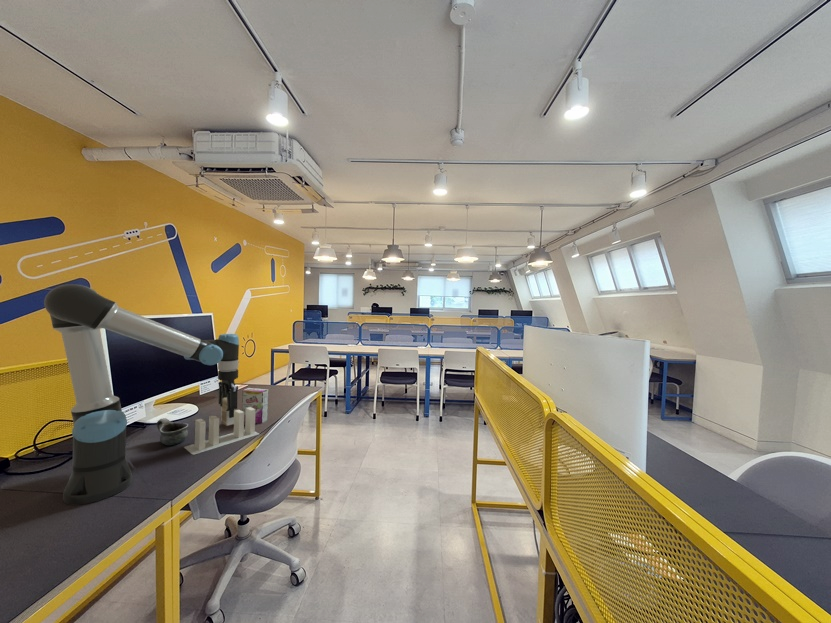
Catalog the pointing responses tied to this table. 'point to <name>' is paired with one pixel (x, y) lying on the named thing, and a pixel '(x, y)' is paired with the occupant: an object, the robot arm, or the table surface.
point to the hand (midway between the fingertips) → (227, 422)
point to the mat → (222, 441)
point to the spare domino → (224, 411)
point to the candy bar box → (256, 403)
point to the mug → (172, 431)
